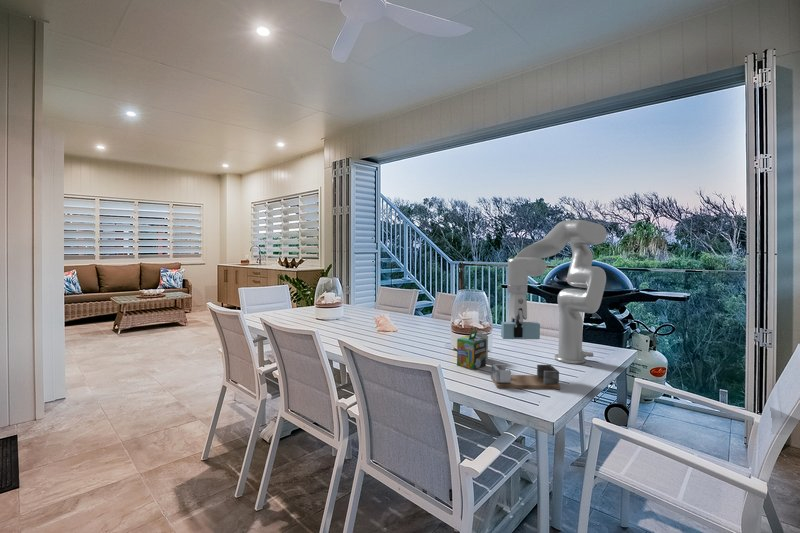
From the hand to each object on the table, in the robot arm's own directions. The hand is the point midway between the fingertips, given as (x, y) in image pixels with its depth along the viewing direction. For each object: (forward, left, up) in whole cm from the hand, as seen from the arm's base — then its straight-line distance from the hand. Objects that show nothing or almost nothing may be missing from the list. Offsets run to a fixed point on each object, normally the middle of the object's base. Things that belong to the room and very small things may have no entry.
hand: (516, 335), depth 156 cm
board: (0, +12, -15) cm, 19 cm away
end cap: (+9, +12, -13) cm, 20 cm away
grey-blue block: (-1, 0, -1) cm, 2 cm away
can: (+11, -19, -15) cm, 27 cm away
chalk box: (+16, -9, -15) cm, 24 cm away
